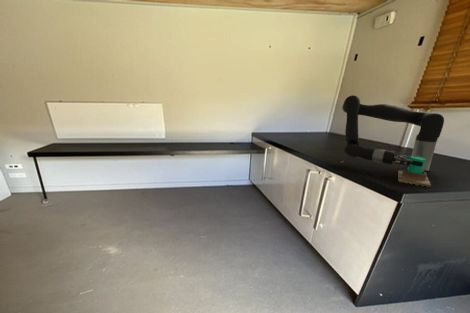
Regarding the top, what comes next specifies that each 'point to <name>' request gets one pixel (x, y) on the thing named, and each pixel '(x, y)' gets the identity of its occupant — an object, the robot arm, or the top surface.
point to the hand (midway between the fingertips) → (423, 163)
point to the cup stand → (413, 178)
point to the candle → (416, 168)
